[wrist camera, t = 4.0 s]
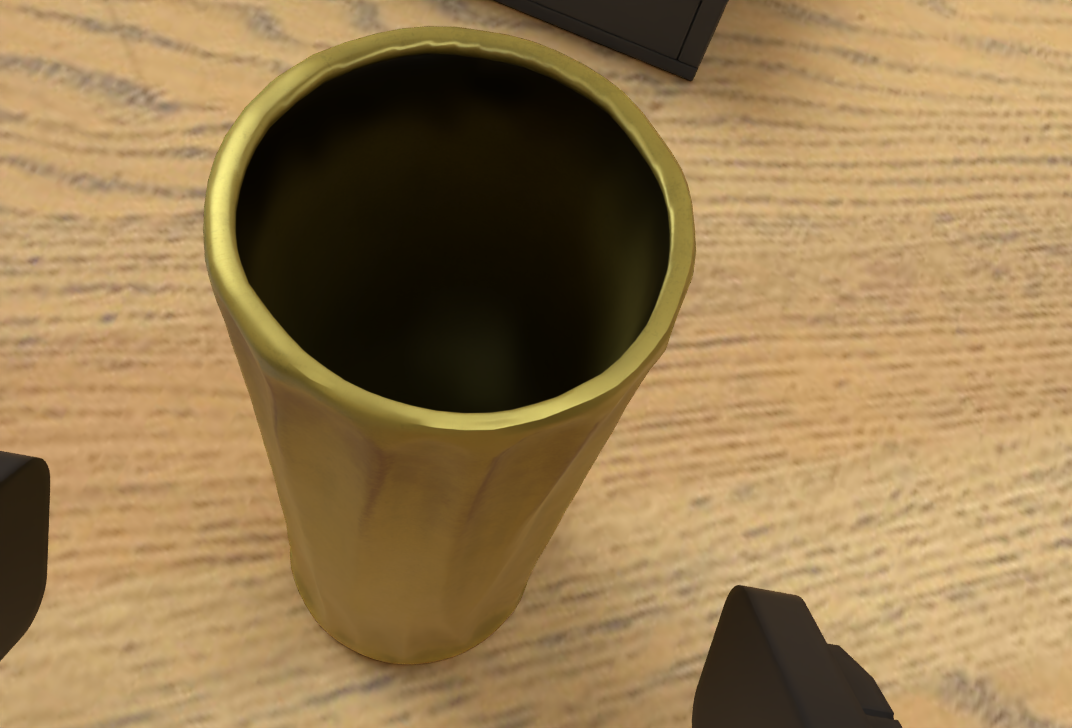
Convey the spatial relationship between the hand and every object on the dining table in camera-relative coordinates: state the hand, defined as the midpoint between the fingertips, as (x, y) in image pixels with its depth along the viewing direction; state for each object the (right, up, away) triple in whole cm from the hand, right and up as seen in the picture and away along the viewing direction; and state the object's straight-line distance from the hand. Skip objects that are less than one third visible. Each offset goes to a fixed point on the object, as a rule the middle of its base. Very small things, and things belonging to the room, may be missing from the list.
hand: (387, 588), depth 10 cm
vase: (-1, -2, +12) cm, 12 cm away
